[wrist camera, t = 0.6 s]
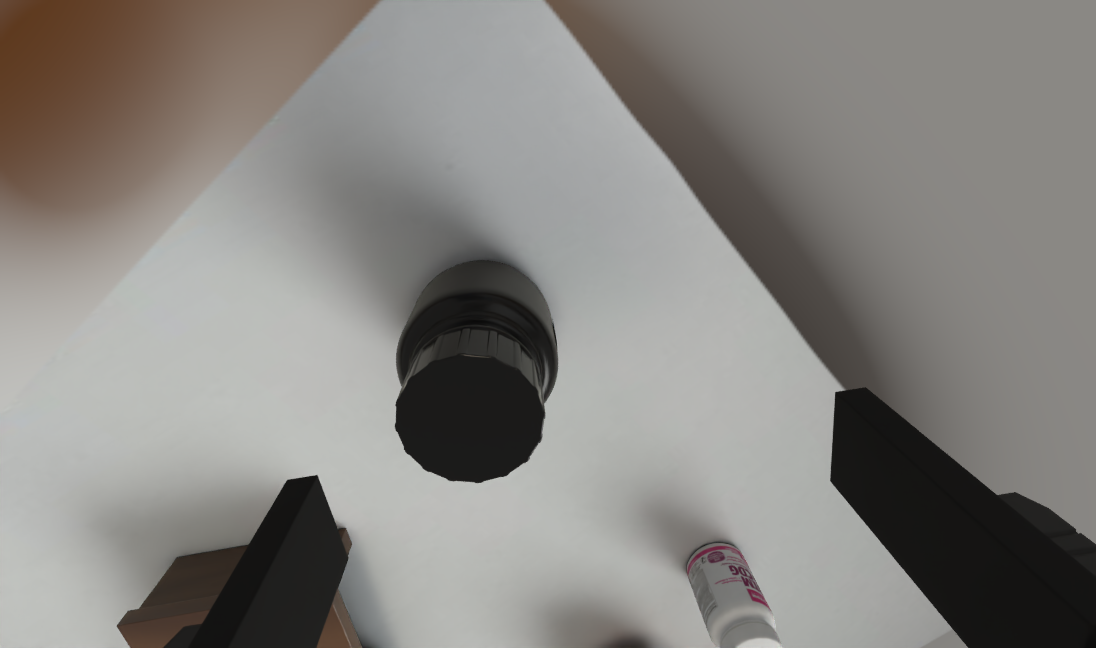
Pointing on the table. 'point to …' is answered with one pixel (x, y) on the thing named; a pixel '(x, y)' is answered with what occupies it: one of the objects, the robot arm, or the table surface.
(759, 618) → the pill bottle
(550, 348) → the ink bottle
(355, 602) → the table surface
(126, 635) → the shelf
